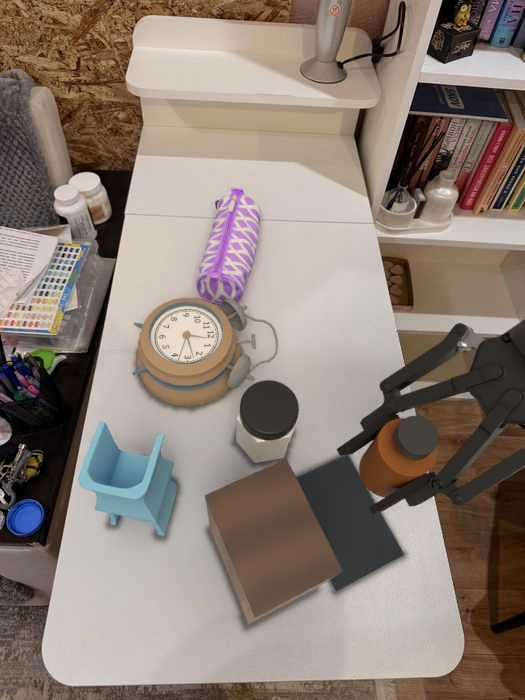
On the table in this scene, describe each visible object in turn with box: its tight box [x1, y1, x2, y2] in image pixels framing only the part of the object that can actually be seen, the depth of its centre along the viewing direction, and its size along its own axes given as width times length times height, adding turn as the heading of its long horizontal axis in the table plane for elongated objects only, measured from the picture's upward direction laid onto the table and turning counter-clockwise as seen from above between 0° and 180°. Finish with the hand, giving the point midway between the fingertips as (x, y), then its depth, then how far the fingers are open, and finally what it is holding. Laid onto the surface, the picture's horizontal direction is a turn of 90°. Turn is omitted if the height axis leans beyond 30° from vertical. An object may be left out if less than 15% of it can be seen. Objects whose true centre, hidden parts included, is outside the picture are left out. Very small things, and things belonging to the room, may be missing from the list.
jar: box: [235, 379, 300, 464], centre depth 75 cm, size 9×8×12 cm
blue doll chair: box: [77, 420, 178, 537], centre depth 65 cm, size 8×8×20 cm
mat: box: [296, 455, 405, 592], centre depth 74 cm, size 16×11×1 cm
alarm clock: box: [131, 297, 279, 408], centre depth 82 cm, size 17×9×23 cm
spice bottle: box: [358, 415, 440, 498], centre depth 49 cm, size 6×6×11 cm
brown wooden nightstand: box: [204, 458, 343, 625], centre depth 62 cm, size 13×10×20 cm
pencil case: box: [195, 187, 262, 306], centre depth 93 cm, size 22×9×10 cm, turn 173°
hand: (360, 479), depth 51 cm, fingers closed on spice bottle, 6 cm apart
